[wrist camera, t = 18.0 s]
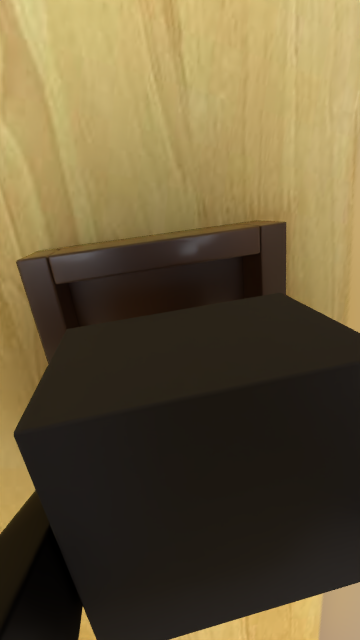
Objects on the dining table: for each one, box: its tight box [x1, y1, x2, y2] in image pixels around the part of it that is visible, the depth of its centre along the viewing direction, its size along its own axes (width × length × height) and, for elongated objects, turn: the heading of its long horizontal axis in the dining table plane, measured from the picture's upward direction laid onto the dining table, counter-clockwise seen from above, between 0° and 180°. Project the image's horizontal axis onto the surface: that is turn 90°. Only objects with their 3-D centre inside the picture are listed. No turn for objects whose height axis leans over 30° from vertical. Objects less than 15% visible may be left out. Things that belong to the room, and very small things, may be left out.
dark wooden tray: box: [16, 221, 286, 364], centre depth 14 cm, size 9×18×3 cm, turn 7°
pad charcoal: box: [14, 293, 360, 640], centre depth 7 cm, size 6×6×4 cm
